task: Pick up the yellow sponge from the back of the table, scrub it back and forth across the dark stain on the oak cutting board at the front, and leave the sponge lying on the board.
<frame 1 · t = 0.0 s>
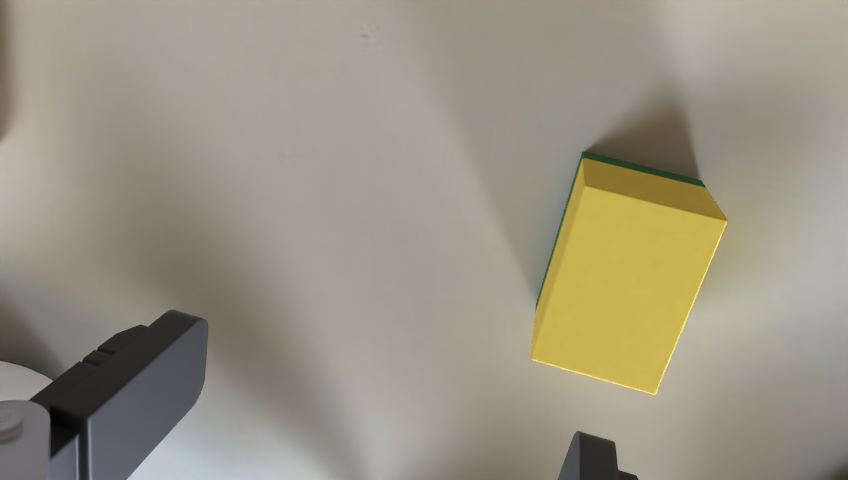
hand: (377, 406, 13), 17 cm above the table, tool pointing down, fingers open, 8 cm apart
sponge: (613, 246, 28), on the table
bowl: (38, 444, 41), on the table
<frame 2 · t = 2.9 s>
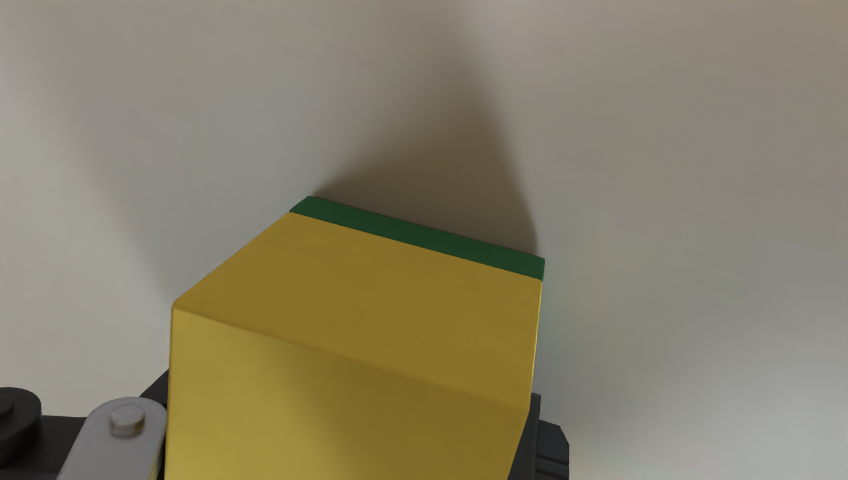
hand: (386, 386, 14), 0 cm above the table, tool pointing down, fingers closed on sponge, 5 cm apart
sponge: (392, 376, 14), on the table, touching gripper
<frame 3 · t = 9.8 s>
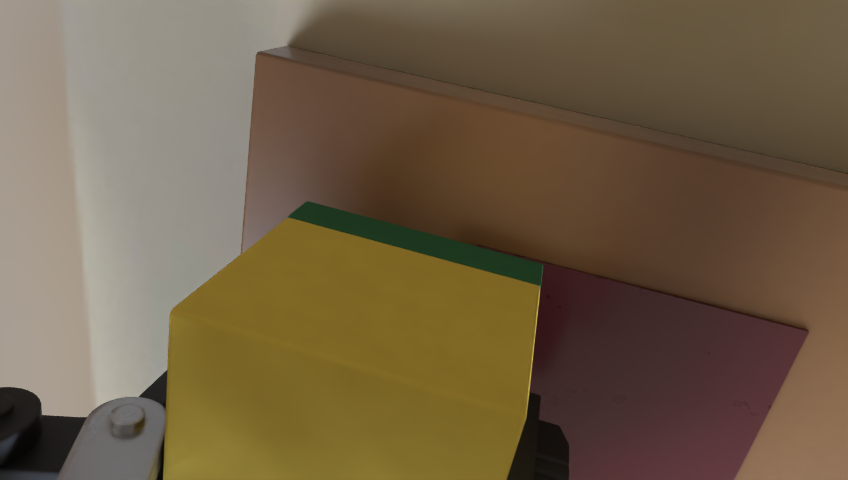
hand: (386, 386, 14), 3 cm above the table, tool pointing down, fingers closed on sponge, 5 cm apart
sponge: (390, 381, 14), point 3 cm above the table, touching gripper
board: (594, 363, 16), on the table
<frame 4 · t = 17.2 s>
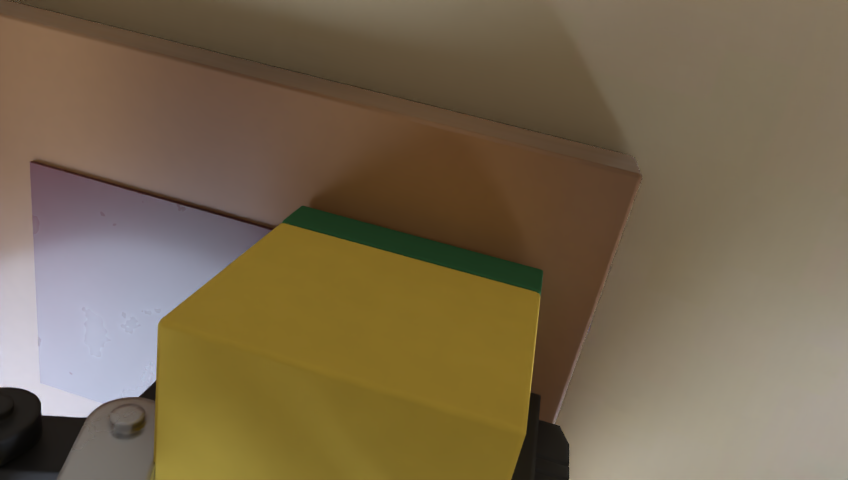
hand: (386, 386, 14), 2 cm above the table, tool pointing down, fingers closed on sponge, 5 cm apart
sponge: (387, 388, 14), point 2 cm above the table, touching gripper
board: (205, 292, 16), on the table
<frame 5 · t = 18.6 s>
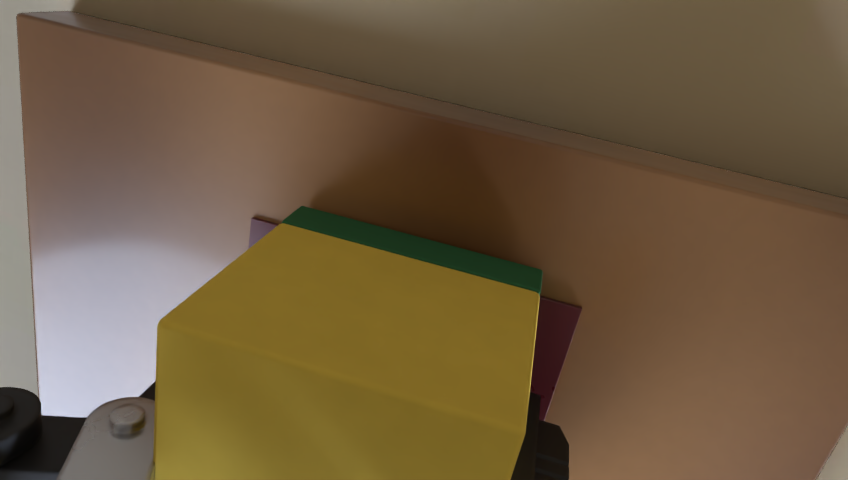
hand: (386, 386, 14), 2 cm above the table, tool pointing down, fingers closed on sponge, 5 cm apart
sponge: (387, 388, 14), point 2 cm above the table, touching gripper
board: (403, 345, 16), on the table
when the fingers open (2 cm above the table, at t = 21.6 s): sponge stays where it is, resting on board.
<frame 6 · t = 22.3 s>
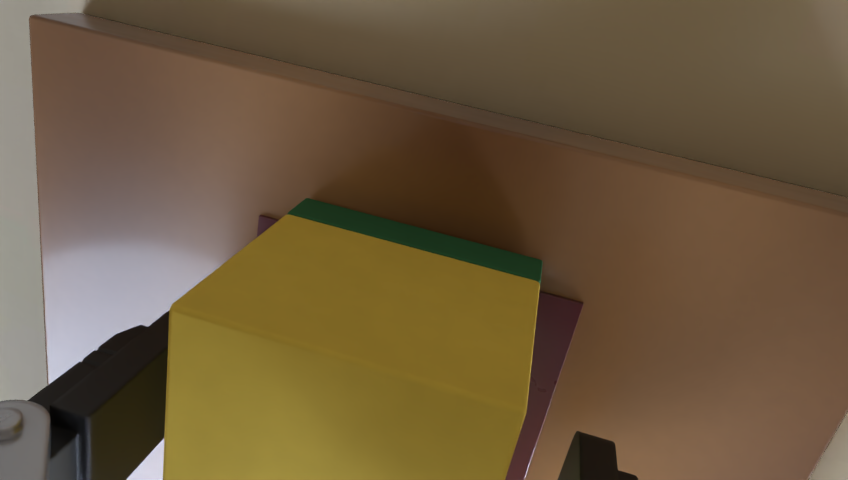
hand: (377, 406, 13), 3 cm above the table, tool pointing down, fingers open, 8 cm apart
sponge: (390, 378, 14), point 2 cm above the table, touching board
board: (407, 341, 16), on the table
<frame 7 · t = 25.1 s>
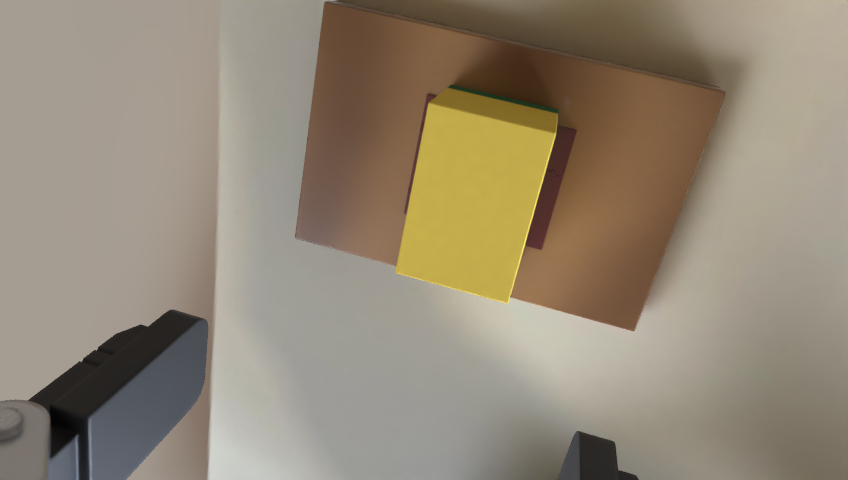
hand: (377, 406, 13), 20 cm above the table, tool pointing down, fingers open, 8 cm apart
sponge: (485, 175, 30), point 2 cm above the table, touching board
board: (489, 165, 32), on the table
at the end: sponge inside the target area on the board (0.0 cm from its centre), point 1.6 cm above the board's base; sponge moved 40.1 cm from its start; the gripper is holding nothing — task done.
